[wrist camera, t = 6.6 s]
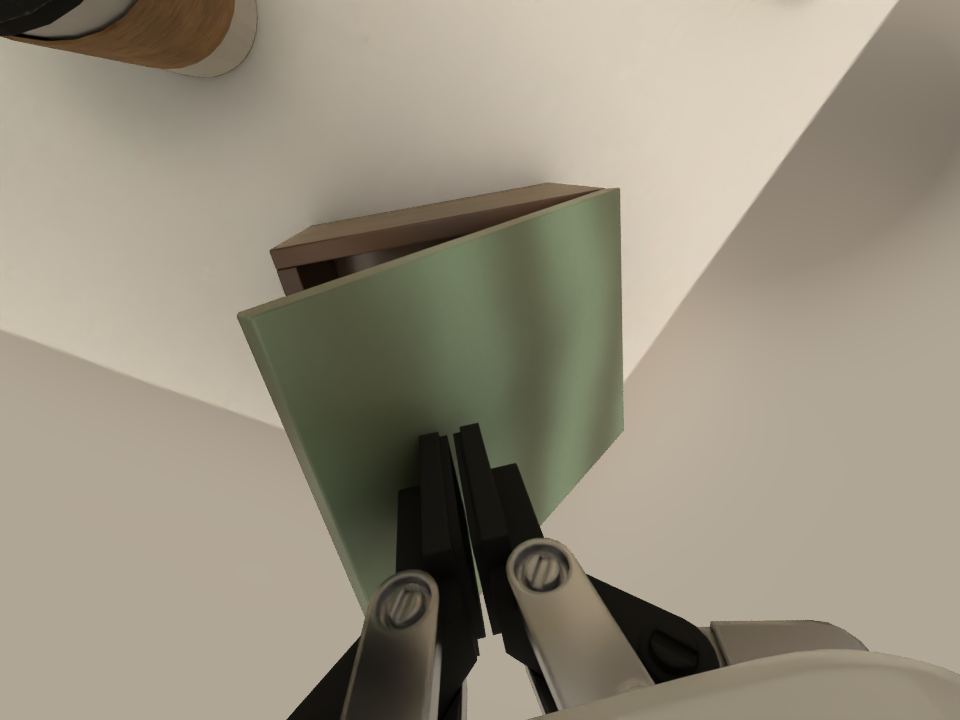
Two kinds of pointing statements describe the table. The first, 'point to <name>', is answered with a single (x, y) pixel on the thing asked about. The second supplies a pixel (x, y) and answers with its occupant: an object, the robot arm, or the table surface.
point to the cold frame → (403, 233)
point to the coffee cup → (139, 31)
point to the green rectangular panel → (451, 368)
